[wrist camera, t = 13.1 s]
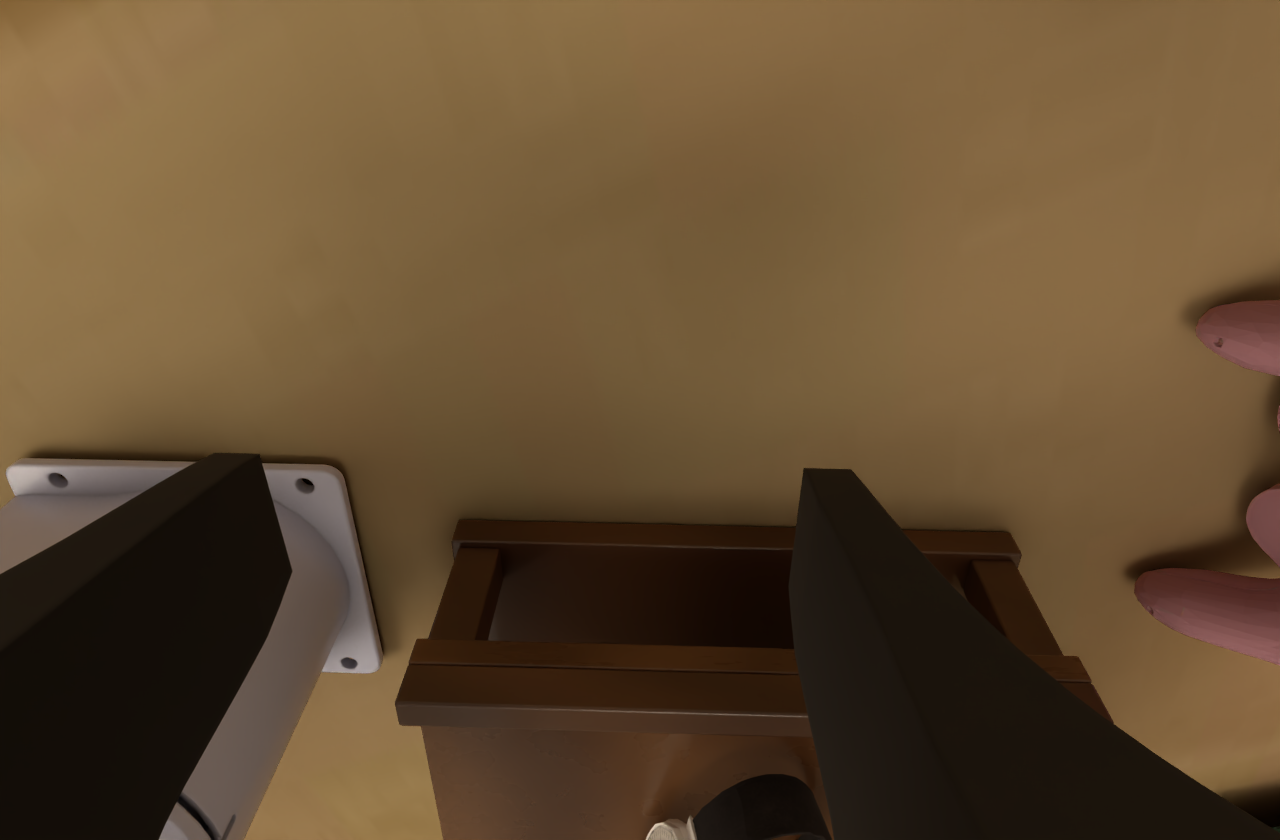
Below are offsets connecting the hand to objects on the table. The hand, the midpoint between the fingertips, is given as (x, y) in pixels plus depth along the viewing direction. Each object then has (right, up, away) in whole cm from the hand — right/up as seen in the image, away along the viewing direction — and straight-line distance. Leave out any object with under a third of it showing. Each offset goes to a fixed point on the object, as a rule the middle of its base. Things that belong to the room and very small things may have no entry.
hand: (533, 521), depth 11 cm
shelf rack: (+4, -7, +16) cm, 18 cm away
